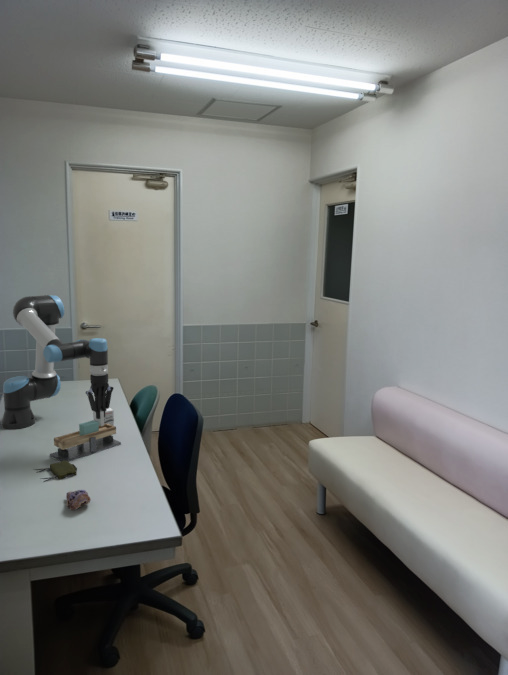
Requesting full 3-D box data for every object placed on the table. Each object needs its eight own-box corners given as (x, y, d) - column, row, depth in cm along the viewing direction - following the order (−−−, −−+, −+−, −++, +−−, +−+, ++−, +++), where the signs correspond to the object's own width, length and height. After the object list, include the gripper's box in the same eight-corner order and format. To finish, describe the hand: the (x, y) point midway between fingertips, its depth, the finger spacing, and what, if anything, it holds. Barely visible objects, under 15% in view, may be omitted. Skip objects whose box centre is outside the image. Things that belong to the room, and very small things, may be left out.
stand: (49, 456, 214) (49, 440, 213) (106, 438, 236) (106, 423, 234) (63, 463, 207) (63, 447, 206) (120, 444, 229) (120, 429, 227)
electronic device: (81, 469, 197) (40, 479, 188) (81, 475, 197) (41, 486, 188) (69, 457, 208) (31, 466, 199) (69, 463, 208) (31, 472, 199)
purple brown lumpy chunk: (61, 500, 177) (60, 484, 176) (83, 494, 182) (82, 478, 181) (70, 515, 168) (70, 498, 167) (93, 508, 172) (93, 492, 171)
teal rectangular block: (79, 435, 220) (79, 424, 219) (93, 430, 225) (93, 420, 224) (84, 437, 217) (84, 426, 217) (98, 433, 223) (98, 422, 222)
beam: (53, 445, 213) (53, 437, 212) (106, 429, 233) (106, 423, 232) (63, 449, 208) (63, 442, 208) (116, 433, 228) (116, 426, 228)
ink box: (96, 436, 237) (95, 412, 235) (93, 433, 242) (92, 409, 240) (114, 433, 242) (114, 409, 240) (111, 430, 246) (110, 406, 244)
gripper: (90, 377, 214) (92, 430, 218) (116, 372, 224) (118, 423, 228) (81, 374, 219) (83, 426, 223) (107, 369, 229) (108, 419, 233)
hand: (101, 425), depth 226 cm, fingers closed
